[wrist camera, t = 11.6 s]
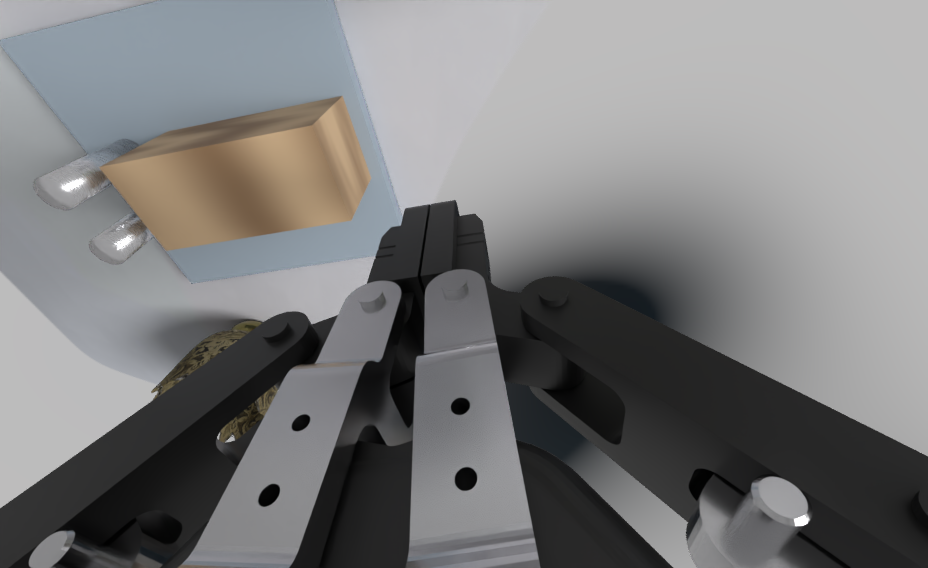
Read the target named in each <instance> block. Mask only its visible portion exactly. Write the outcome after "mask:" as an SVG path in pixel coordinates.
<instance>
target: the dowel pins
mask: <svg viewBox="0 0 928 568" xmlns="http://www.w3.org/2000/svg"><path fill="white" fill-rule="evenodd" d="M139 146H140V145H139V144H137V143H136V142H134V141H132V140H129V139H120V140H118V141H115V142H113V143H111V144H109V145H107V146H105V147H103V148H101V149H99V150H96V151H94V152H92V153H90V154H88V155H86V156H84V157H82V158H79V159H77V160H75V161H73V162H71V163H69V164H67V165H65V166H63V167H60V168H58V169H56V170H54V171H52V172H50V173H48V174H46V175H43V176H41V177H39V178H37V179H36V180H35V181H34V182H33V187H34V190H35V192H36V193H37V195H38V196H39V197H40V198H41V199H42V200H43V201H44V202H46V203H47V204H49V205H51V206H53V207H55V208H58V209H61V210H70V209H72V208H74V207H76V206H77V205H79V204H81V203H82V202H84V201H86V200H87V199H89V198H91V197H93V196H94V195H96V194H98V193H99V192H101V191H103V190H104V189H106V188H108V187H110V186H111V185H113V184H112V183H111V182H110V180H109V179H108V178H107V177H106V175H105V174H104V173H103V172H102V170H101V169H100V168H99V167H100V166H102V165H104V164H106V163H108V162H110V161H112V160H114V159H116V158H118V157H119V156H121V155H123V154H125V153H127V152H129V151H131V150H133V149H135V148H137V147H139ZM153 237H154V235H153V234H152V233H151V232H150V230H149V229H148V228H147V227H146V225H145V224H144V223H143V222H142V220H141V219H140V218H139V217H138V215H137V214H136V213H135V212H134V210H133V211H132V212H130V213H129V214H127V215H126V216H125V217H123V218H122V219H120V220H119V221H117V222H116V223H115V224H113V225H112V226H110V227H109V228H108V229H106V230H105V231H103V232H102V233H100V234H99V235H98V236H96V237H95V238H93V239H92V240H91V241H90V242H89V248H90V250H91V252H92V253H93V254H94V255H95V256H96V257H97V258H99V259H100V260H102V261H104V262H107V263H110V264H122V263H123V262H124V261H126V260H127V259H128V258H129V257H130V256H132V255H133V254H134V253H135V252H136V251H138V250H139V249H140V248H141V247H142V246H144V245H145V244H146V243H147V242H148V241H150V240H151V239H152V238H153Z"/></svg>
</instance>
